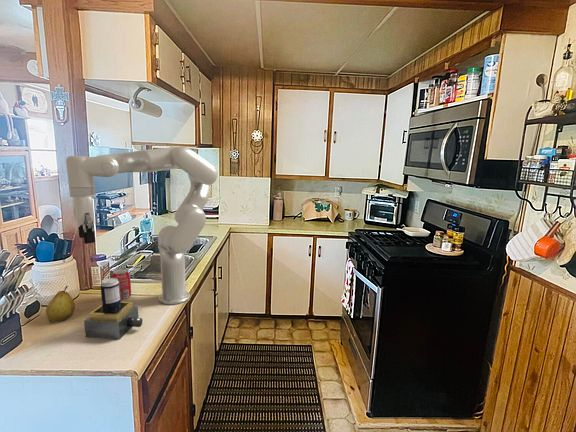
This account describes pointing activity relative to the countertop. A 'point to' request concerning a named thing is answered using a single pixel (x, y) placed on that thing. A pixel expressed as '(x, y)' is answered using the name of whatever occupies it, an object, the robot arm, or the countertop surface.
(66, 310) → the fruit
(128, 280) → the soda can
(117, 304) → the beverage can
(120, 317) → the box
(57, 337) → the countertop surface
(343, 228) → the countertop surface
